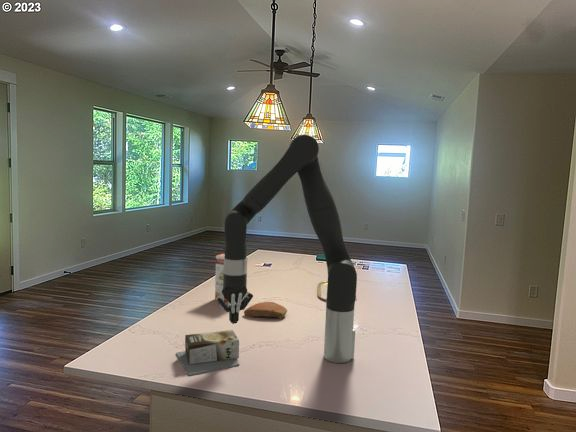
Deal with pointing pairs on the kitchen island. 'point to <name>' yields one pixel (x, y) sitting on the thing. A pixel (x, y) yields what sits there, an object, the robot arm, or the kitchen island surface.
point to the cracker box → (221, 275)
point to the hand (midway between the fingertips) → (233, 322)
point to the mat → (204, 365)
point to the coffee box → (211, 346)
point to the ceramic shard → (266, 310)
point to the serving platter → (320, 288)
